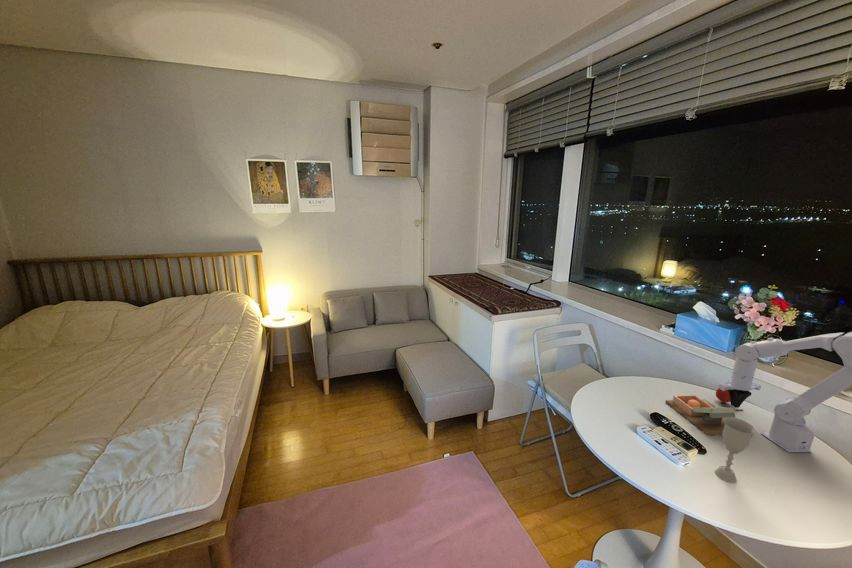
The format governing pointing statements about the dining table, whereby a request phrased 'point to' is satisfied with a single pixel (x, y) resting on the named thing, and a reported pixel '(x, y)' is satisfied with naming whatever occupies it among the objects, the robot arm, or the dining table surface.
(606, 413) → the dining table surface
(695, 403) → the ball
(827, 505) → the dining table surface
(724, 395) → the onion
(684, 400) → the orange open box
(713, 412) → the tipping tray
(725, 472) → the chalice
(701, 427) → the base board
